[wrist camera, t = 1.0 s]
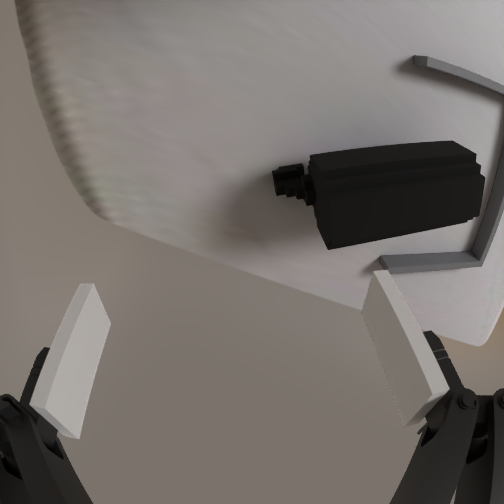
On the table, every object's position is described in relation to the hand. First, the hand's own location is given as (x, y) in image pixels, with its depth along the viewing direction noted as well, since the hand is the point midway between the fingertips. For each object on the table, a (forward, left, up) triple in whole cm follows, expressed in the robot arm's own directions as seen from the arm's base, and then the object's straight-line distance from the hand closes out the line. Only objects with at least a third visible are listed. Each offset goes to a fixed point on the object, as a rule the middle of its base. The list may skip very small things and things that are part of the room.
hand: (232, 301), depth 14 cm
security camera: (0, +13, -19) cm, 23 cm away
